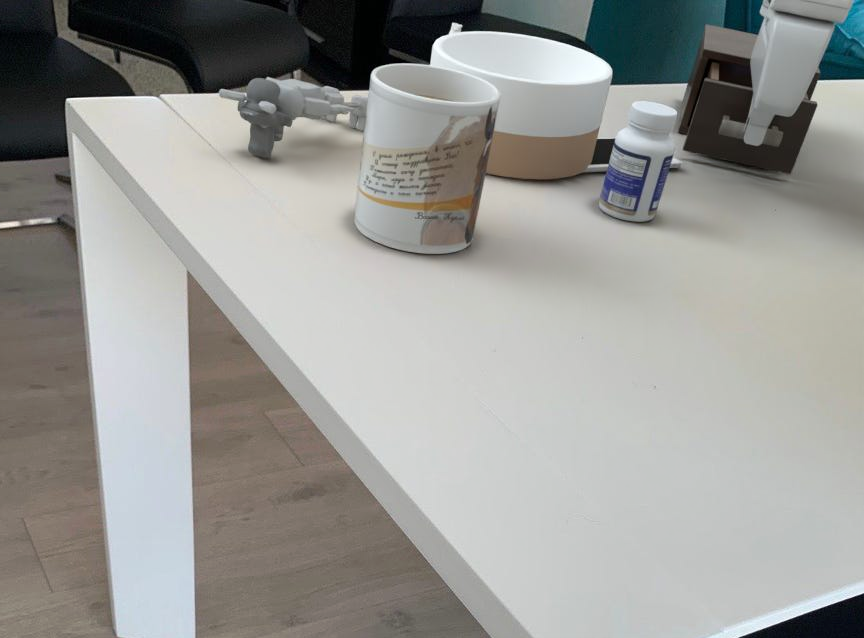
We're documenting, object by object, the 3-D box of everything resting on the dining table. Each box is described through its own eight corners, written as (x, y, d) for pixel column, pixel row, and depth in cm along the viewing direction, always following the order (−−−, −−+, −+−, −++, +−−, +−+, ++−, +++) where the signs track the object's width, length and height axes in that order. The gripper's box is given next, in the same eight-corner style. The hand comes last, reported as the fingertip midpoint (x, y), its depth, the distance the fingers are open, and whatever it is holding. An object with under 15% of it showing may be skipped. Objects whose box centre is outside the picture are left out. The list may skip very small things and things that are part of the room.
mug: (323, 212, 83) (338, 63, 76) (431, 194, 90) (454, 55, 83) (407, 263, 78) (431, 107, 71) (515, 240, 85) (548, 96, 77)
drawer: (792, 186, 103) (820, 115, 99) (681, 162, 105) (703, 90, 100) (785, 140, 117) (809, 74, 112) (686, 118, 118) (706, 53, 113)
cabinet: (788, 157, 115) (820, 73, 109) (677, 132, 116) (703, 48, 110) (783, 123, 126) (812, 46, 120) (682, 101, 127) (705, 24, 121)
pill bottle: (634, 200, 96) (664, 99, 90) (665, 223, 93) (698, 118, 87) (586, 201, 94) (613, 97, 89) (615, 223, 91) (646, 117, 85)
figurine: (307, 143, 104) (205, 147, 89) (318, 74, 101) (215, 68, 86) (371, 163, 102) (277, 171, 87) (384, 94, 99) (290, 91, 84)
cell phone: (681, 168, 105) (683, 162, 105) (557, 174, 98) (558, 168, 98) (634, 142, 110) (636, 136, 110) (512, 146, 103) (513, 140, 103)
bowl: (579, 193, 95) (602, 96, 89) (401, 156, 97) (412, 59, 91) (601, 141, 107) (622, 52, 102) (443, 108, 110) (455, 20, 104)
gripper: (769, -45, 99) (719, 108, 108) (777, -11, 84) (719, 163, 93) (834, -32, 99) (778, 120, 108) (855, 4, 83) (788, 178, 93)
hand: (751, 141), depth 100 cm, fingers closed
